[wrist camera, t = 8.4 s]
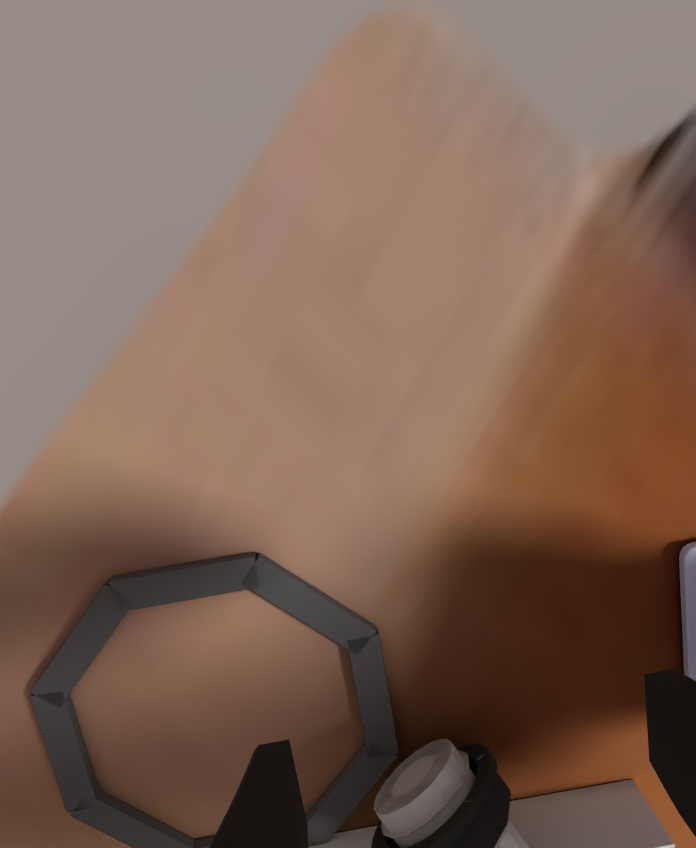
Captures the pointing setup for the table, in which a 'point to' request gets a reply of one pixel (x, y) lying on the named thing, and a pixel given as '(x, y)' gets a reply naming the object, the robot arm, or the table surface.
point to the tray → (568, 821)
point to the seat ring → (260, 574)
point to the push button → (445, 801)
